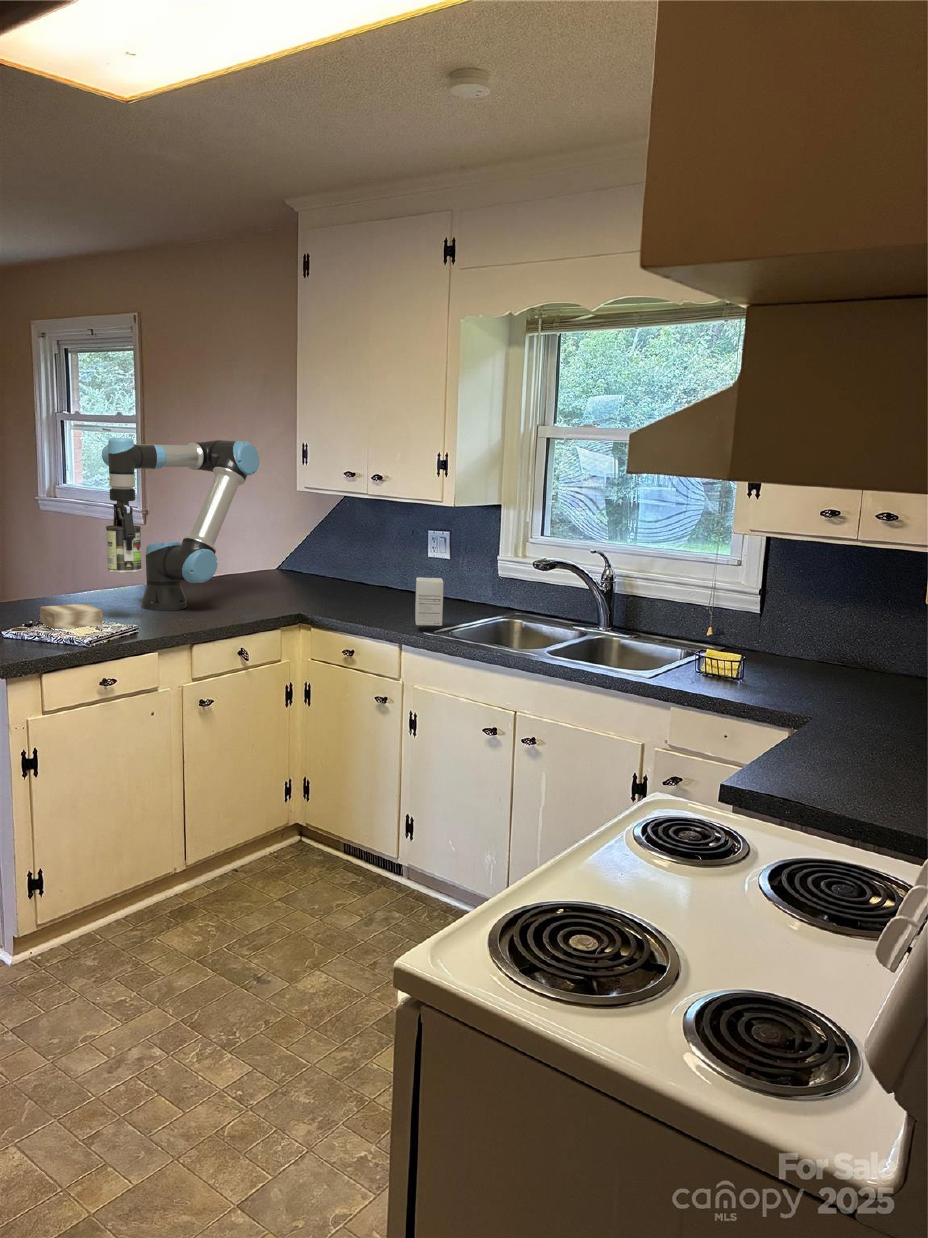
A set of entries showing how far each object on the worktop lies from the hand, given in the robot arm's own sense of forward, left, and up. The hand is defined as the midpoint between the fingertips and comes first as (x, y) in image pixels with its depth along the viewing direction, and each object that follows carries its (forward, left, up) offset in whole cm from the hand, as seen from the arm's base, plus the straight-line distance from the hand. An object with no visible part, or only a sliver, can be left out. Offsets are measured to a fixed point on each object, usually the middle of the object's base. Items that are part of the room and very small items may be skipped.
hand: (124, 558), depth 296 cm
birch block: (+17, +4, -20) cm, 27 cm away
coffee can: (0, 0, -4) cm, 4 cm away
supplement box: (-89, +40, -20) cm, 100 cm away
